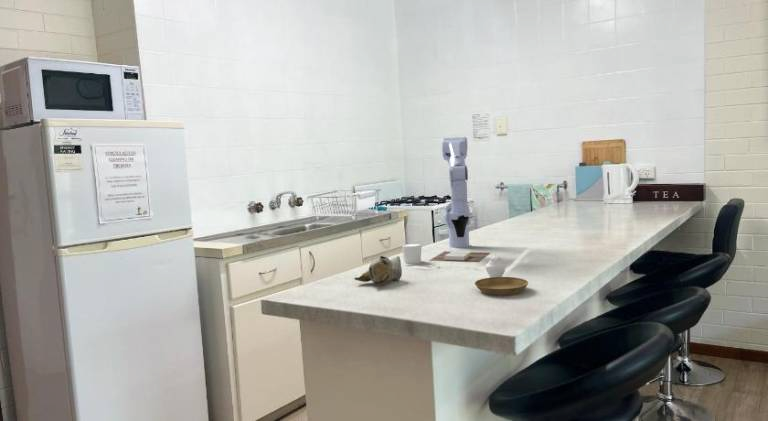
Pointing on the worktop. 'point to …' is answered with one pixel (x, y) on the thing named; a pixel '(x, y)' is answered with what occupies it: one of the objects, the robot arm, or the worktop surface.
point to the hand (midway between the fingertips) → (460, 237)
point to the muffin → (495, 267)
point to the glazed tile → (457, 256)
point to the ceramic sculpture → (382, 271)
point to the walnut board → (473, 258)
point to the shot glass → (412, 253)
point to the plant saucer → (501, 285)
